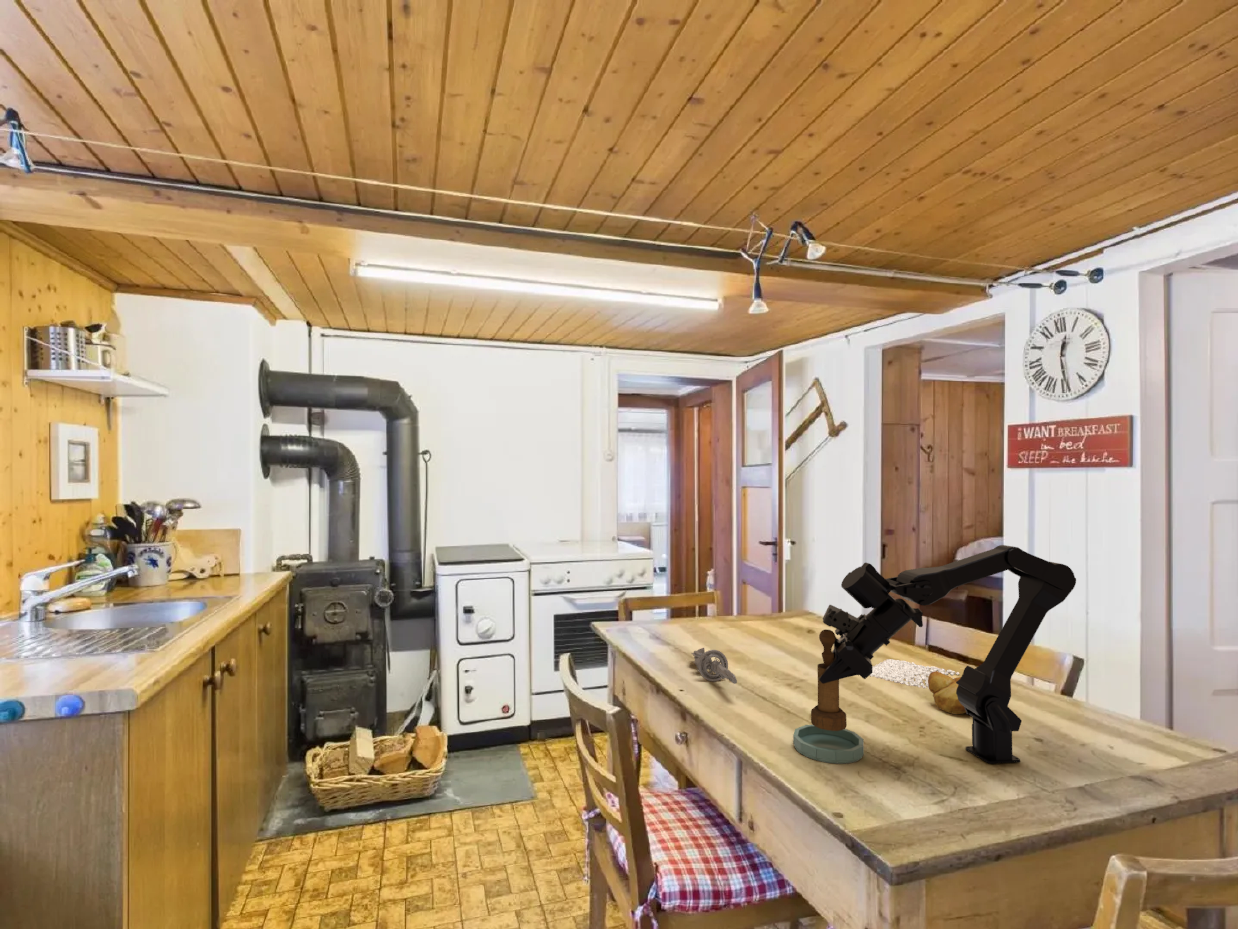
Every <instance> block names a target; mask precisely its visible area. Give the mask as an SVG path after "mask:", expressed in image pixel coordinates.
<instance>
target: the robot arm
mask: <svg viewBox="0 0 1238 929" xmlns="http://www.w3.org/2000/svg"><path fill="white" fill-rule="evenodd" d="M1006 571H1009V572H1010V573H1012V574H1014V575H1016V576H1018V577H1019V580H1018V583H1017V584H1018V585H1017V586H1018V587H1017V588H1018V590H1017V591H1018V598H1017V601H1016V603H1015V604H1014V607H1013V608H1012V610H1011V612H1010V614H1009V615H1008V617H1007V619H1006V621H1005V623H1004V625H1003V626H1002V628H1001V630H1000V632H999V634H998V635H997V638H996V639H995V641H994V643H993V644H992V646H991V648H990V650H989V651H988V654H987V655H986V657H985V659H984V661H983V662H982V663H981V664H980V665H978V666H976V667H975V668H974V667H972V666H970V665H966V667H964V669H963V672H962V675H961V676H960V677H961V678H960V679H959V680H958V681H957V682H956V684H958V687H957V690H956V694H957V697H958V700H959V702H960V703H961V704H962V705H963V706H964V708H965V710H966V713H965V714H966V715H968V716H970V717H972V724H971V743H972V744H971V746H965V750H966V751H968V752H969V753H971V754H972V755H973V756H976V757H977V758H979V759H980V760H983V762H985V763H986V764H990V765H994V764H995V765H996V764H1007V763H1020V762H1021V758H1019V757H1017V756H1016V755H1014V754H1013V732H1019V731H1020V727H1021V725H1022V719H1021V718H1020V717H1019V716H1018V715H1017V714H1016V713H1015V712H1014V711H1013V710H1012V709H1011V708H1010V707H1009V703H1010V701H1011V697H1012V683H1011V682H1012V680H1011V679H1012V677H1013V675H1014V674H1015V672H1016V670H1017V667H1018V666H1019V664H1020V662H1021V661H1022V659H1023V657H1024V655H1025V654H1026V651H1027V650H1028V647H1029V645H1030V644H1031V642H1032V640H1033V639H1034V637H1035V635H1036V633H1037V631H1038V630H1039V628H1040V626H1041V624H1042V622H1043V621H1044V618H1045V617H1046V615H1047V614H1048V612H1049V611H1050V610H1052V609H1053V608H1055V607H1056V606H1058V605H1060V604H1061V603H1063V602H1064V601H1065V600H1066V599H1067V597H1068V596H1069V595H1070V593H1071V592H1072V591H1073V590H1074V589H1075V587H1076V584H1077V578H1076V577H1075V572H1074V571H1073V570H1072V568H1071V567H1070V566H1068V565H1066V564H1064V563H1060V562H1053V561H1048V560H1045V559H1043V558H1040V557H1038V556H1036V555H1033V554H1031V553H1029V552H1027V551H1024V550H1023V549H1021V548H1019V547H1018V546H1013V545H1012V546H1011V545H1005V544H999V545H997V546H995V547H994V548H991V549H989V550H986V551H983V552H979V553H977V554H974V555H971V556H968V557H965V558H962V559H959V560H955V561H953V562H950V563H947V564H944V565H941V566H933V567H932V566H931V567H921V568H913V569H911V568H910V569H907V570H906V569H905V570H903V571H901V572H900V573H899V574H898V575H897V576H893V577H892V576H891V577H888V578H885V577H884V576H883V575H881V573H879V572H878V571H877V569H876V568H875V567H874V566H873V564H871V563H869V562H863V563H862V565H861V566H858V567H855V569H853V570H852V571H850V572H848V573H847V574H846V575H845V576H844V577H843V580H842V581H841V586H840V587H841V588H842V589H843V590H844V591H845V592H846V593H847V594H848V595H849V596H850V597H852V599H854V600H855V601H856V602H857V603H858V604H859V605H860V606H861V607H862V608H864V609H870V608H871V610H870V611H869V612H868V613H866V614H865V613H864V614H863V613H861V614H860V615H859V616H858V617H856V616H854V615H852V614H851V613H849V611H844V610H843V609H842V608H839V607H837V606H835V605H832V604H829V605H828V606H827V609H826V611H825V613H824V615H823V617H822V623H823V624H824V625H826V626H828V627H832V628H835V630H834V634H835V635H837V636H840V637H839V638H837V637H836V640H835V642H834V644H833V650H831V651H832V653H833V654H834V659H833V661H832V662H831V664H830V665H829V666H828V667H827V669H826V670H825V671H824V673H823V674H822V675H821V677H820V678H819V680H820V681H821V683H823V684H824V683H828V682H831V681H835V680H838V679H839V680H841V679H847V678H849V677H854V676H858V677H859V676H860V677H861V678H862V679H863V680H866V679H867V678H868V677H870V674H872V666H873V663H872V659H873V658H874V653H876V652H877V651H878V650H879V649H880V648H881V647H882V646H884V645H885V647H887V646H888V645H889V644H890V643H891V641H890V640H891V638H892V637H894V636H895V635H897V633H898V632H899V631H901V630H902V629H903V628H904V627H905V626H906V625H907V624H908V623H910V621H913V623H914V624H915V625H916V626H918V627H919V628H923V626H924V623H923V615H924V612H923V611H922V610H921V609H920V608H916V607H915V608H914V607H912V606H911V605H910V604H909V603H907V602H906V601H905V600H907V601H908V602H909V601H910V602H912V603H914V604H917V605H920V606H924V607H925V606H930V605H932V604H934V603H936V602H937V601H939V600H941V599H943V598H945V597H946V596H947V595H948V594H949V593H950V592H951V591H952V590H954V589H956V588H959V587H961V586H964V585H966V584H970V583H972V582H976V581H979V580H982V579H984V578H988V577H990V576H994V575H997V574H999V573H1002V572H1006ZM890 593H893V594H895V595H898V596H900V598H894V597H893V596H892V595H891V594H890ZM904 599H905V600H904Z"/></svg>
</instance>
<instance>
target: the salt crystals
mask: <svg viewBox="0 0 1238 929" xmlns="http://www.w3.org/2000/svg"><path fill="white" fill-rule="evenodd" d="M934 671H937V672H940V673H942V674H945V675H947V676H949V675H950V676H952V678H953V679H954V678H955V677H953V676H959V675H960V672H959V671H957V672H956V671H955V670H952V669H947V670H946V669H944V668H939V667H937V666H934V665H933V666H932V665H931V666H929V665H926V666H925V665H922V664H920V665H919V664H916V663H915V661H914V662H913V661H912V662H911V661H910V662H909V661H906V660H900V659H893V658H891V659H890V658H887V659H885V660H883V661H880V662H879V663H877V664H875V665H872V674H870V675H869V677H872V678H873V677H874V678H876V679H882V680H885V681H890V682H893V681H894V682H893V683H900V684H901V685H906V686H911V687H917V688H922V689H928V690H929V685H928V677H929V674H930V673H931V672H934ZM923 682H924V683H923Z"/></svg>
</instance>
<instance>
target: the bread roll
mask: <svg viewBox="0 0 1238 929" xmlns="http://www.w3.org/2000/svg"><path fill="white" fill-rule="evenodd" d="M927 677H928V685H929V686H928V687H929V689H928V690H929V691H930V692H931V693H932V694H933V695H932V697H933V700H934V704H935V705H936V707H937V708H939V709H940V710H941V711H943V712H946V713H949V714H952V715H959V714H967V713H966V710H965V708H964V706H963V705H962V704H961V703H960V702H959V700H958V697H957V694H956V690H957V687H958V684H956V682H957V681H958V680H959V679H960V678H961V677H962V676H959V677H951V676H949V675H945V674H942V673H940V672H938V671H934V672H931V673H930V674H929V676H927ZM953 678H954V679H953Z"/></svg>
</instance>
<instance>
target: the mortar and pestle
mask: <svg viewBox="0 0 1238 929" xmlns="http://www.w3.org/2000/svg"><path fill="white" fill-rule="evenodd" d="M818 636H819V637H818V638H819V641H820V643H821V645H822V647H823V651H822V652H821V659H822V661H823V662H821V663H818V664H817V704H816V705H815V706H814V707H813V708H812V709H811V710H810V723H811V725H814V726H815V727H818V728H820V729H824V730H830V731H840V730H843V729H847V713H846V712H845V711H844V710H843V709H842V708H841V707H840V679H838V680H835V681H831V682H828V683H824V684H823V683H821V681H820V680H819V678H820V677H821V675H822V674H823V673H824V671H825V670H826V669H827V667H828V666H829V665H830V664H831V662H832V661H833V659H834V654H833V653H832V651H833V650H832V649H833V648H832V647H834V642H835V640H836V638H837V637H836V633H835V631H833V630H831V629H823V630H821V631H820V632H819V635H818Z"/></svg>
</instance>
